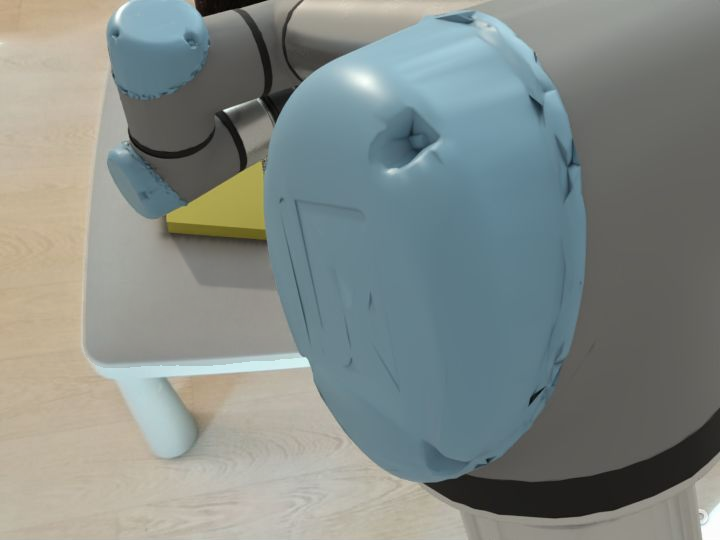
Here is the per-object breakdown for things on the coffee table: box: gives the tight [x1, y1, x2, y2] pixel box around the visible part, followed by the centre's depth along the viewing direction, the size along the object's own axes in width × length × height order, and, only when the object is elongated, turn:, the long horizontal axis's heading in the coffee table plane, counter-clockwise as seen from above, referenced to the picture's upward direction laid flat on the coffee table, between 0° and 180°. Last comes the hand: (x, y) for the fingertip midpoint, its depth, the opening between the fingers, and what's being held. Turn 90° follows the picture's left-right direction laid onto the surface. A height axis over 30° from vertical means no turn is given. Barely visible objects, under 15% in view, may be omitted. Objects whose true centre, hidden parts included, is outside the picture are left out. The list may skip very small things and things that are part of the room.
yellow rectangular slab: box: [165, 160, 267, 241], centre depth 78 cm, size 12×2×24 cm
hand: (397, 44), depth 72 cm, fingers open, 13 cm apart
